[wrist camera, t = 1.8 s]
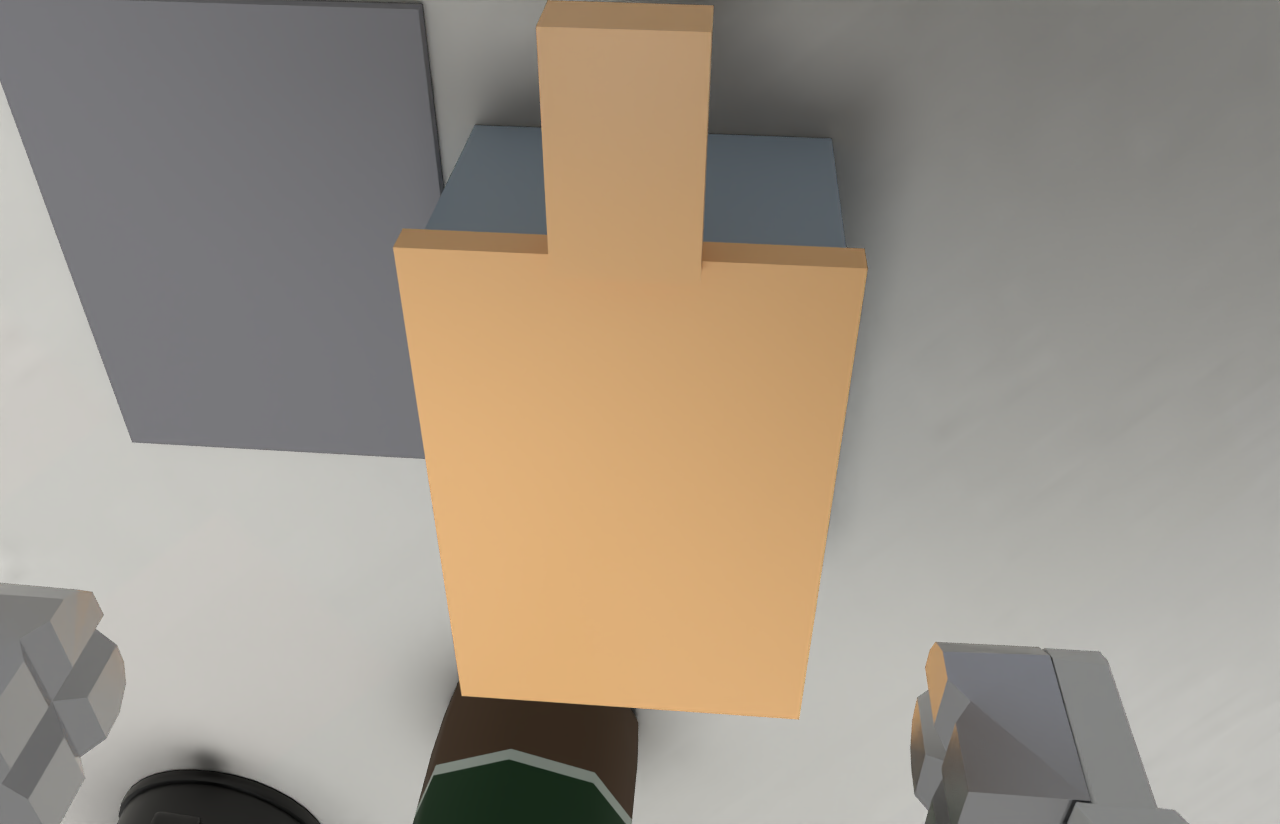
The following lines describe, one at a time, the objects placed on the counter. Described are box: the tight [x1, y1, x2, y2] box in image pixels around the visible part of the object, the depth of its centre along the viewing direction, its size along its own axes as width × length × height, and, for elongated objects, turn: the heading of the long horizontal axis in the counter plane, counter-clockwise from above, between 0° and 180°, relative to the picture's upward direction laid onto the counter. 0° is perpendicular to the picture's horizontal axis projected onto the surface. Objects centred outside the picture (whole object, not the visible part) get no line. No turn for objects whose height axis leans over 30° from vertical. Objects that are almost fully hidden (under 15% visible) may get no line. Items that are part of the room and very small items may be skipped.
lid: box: [393, 0, 868, 719], centre depth 25 cm, size 10×19×2 cm, turn 0°
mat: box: [0, 0, 444, 459], centre depth 31 cm, size 11×14×1 cm
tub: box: [425, 125, 846, 248], centre depth 30 cm, size 9×14×6 cm, turn 0°
